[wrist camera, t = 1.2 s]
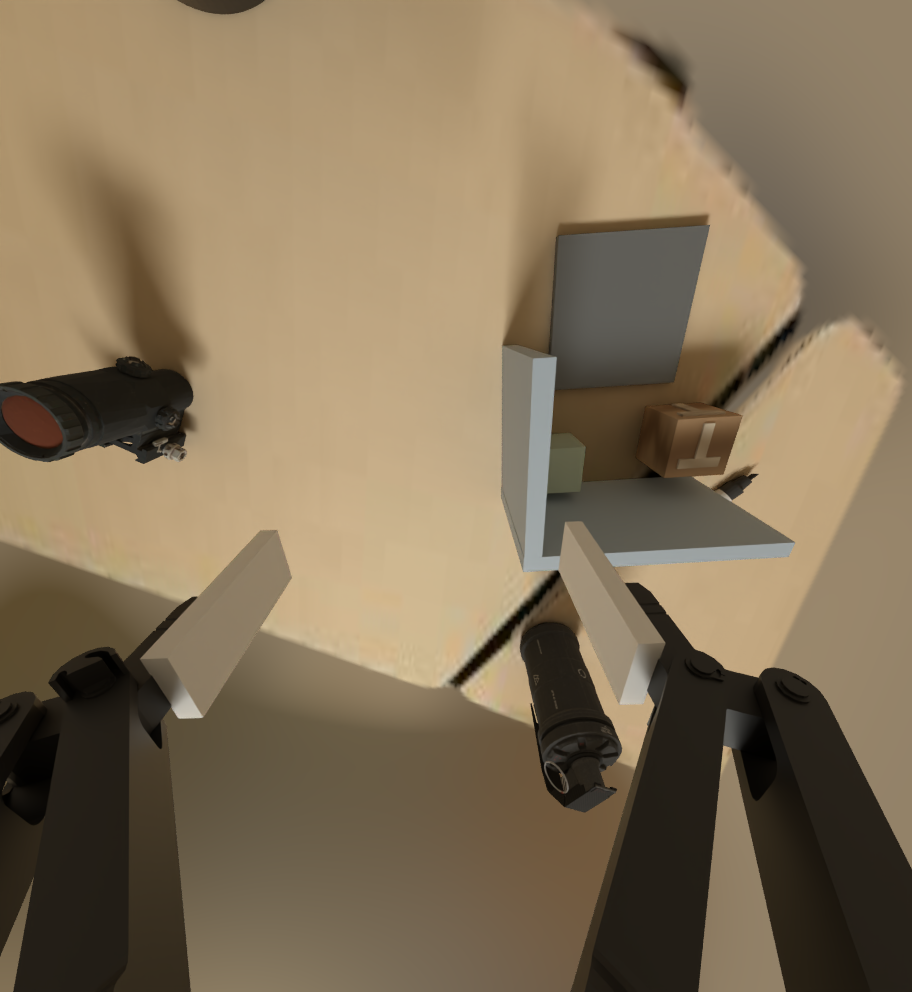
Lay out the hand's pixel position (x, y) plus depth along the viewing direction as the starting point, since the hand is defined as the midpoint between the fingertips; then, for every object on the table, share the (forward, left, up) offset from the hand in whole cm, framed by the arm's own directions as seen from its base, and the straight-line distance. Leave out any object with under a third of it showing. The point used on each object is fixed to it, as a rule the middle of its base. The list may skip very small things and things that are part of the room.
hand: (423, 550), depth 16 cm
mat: (-9, +18, -24) cm, 31 cm away
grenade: (+37, +14, -24) cm, 46 cm away
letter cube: (+3, +26, -24) cm, 35 cm away
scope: (-4, -28, -24) cm, 37 cm away
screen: (+1, +18, -24) cm, 30 cm away
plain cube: (+5, +12, -24) cm, 28 cm away
